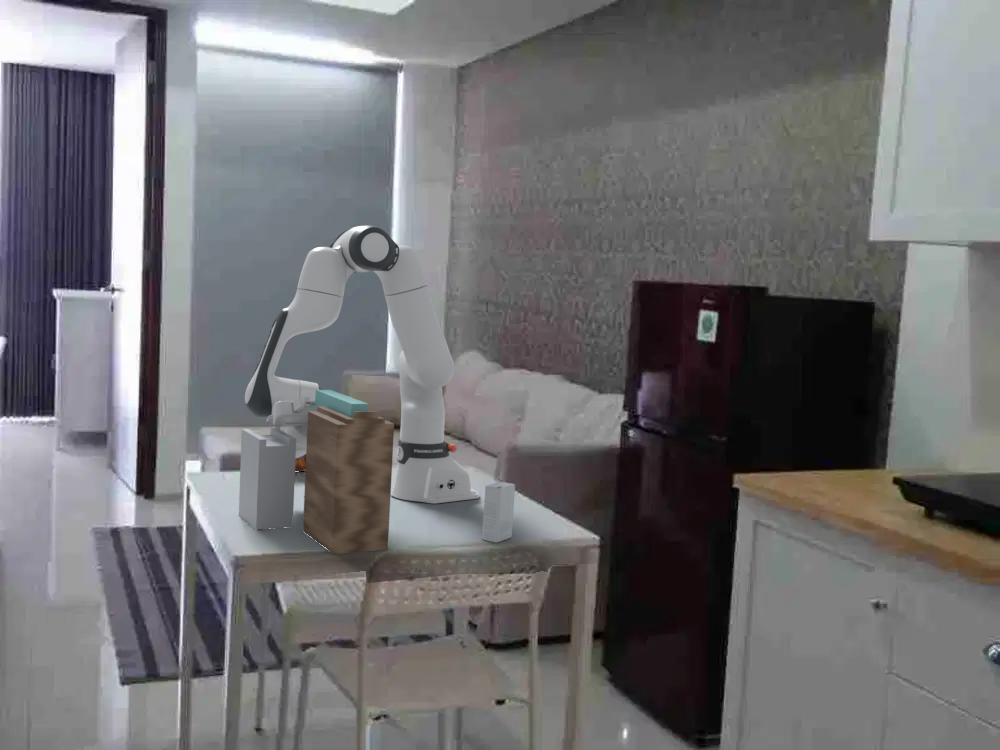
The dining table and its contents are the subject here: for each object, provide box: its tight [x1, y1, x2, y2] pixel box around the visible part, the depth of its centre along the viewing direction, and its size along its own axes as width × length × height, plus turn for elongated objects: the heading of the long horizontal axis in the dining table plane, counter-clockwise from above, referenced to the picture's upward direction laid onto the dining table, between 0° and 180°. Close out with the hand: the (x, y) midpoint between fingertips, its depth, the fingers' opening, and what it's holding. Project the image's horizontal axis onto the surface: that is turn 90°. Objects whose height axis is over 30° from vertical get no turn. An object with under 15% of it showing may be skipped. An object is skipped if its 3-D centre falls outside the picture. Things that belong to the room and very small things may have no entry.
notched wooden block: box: [302, 406, 395, 555], centre depth 214 cm, size 12×18×28 cm, turn 29°
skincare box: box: [481, 481, 516, 543], centre depth 224 cm, size 6×4×12 cm
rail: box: [315, 389, 369, 419], centre depth 218 cm, size 4×22×4 cm, turn 29°
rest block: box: [238, 427, 296, 530], centre depth 226 cm, size 8×14×20 cm, turn 29°
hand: (327, 399), depth 225 cm, fingers open, 8 cm apart
